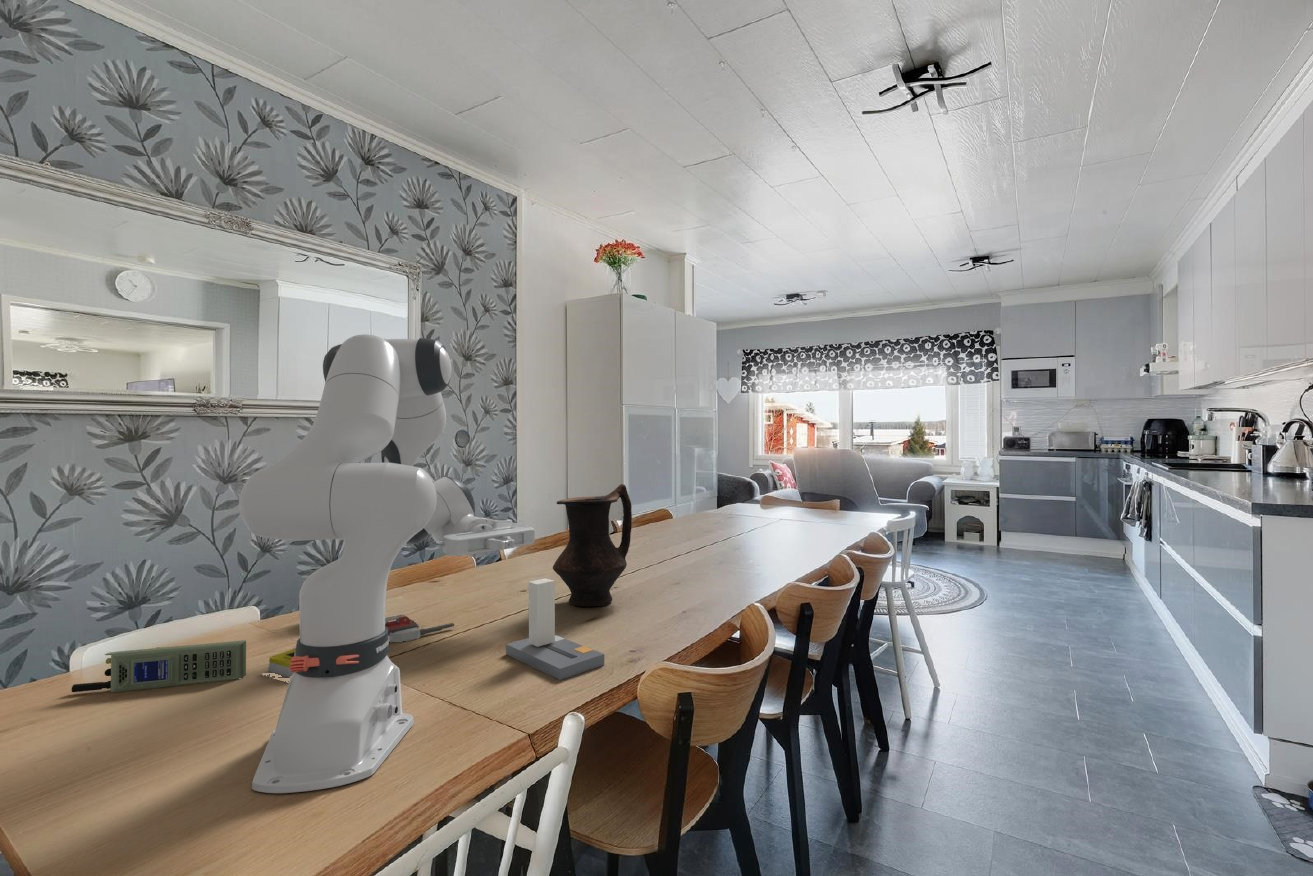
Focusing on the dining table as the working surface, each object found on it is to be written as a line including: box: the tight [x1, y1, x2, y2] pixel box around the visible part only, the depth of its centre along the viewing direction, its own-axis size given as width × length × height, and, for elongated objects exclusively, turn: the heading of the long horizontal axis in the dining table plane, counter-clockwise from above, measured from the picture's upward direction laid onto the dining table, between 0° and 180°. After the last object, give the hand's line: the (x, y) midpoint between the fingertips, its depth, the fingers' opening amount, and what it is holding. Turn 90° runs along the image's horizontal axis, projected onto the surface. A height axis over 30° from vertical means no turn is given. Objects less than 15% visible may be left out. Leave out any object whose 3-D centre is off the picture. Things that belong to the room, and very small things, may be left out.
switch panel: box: [505, 634, 605, 681], centre depth 116 cm, size 18×10×2 cm, turn 45°
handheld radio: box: [70, 639, 247, 694], centre depth 106 cm, size 7×3×25 cm
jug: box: [552, 483, 633, 607], centre depth 156 cm, size 21×18×30 cm
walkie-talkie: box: [385, 614, 455, 643], centre depth 131 cm, size 9×4×20 cm
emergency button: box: [262, 648, 296, 683], centre depth 114 cm, size 9×4×15 cm
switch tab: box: [528, 577, 556, 647], centre depth 119 cm, size 3×4×12 cm
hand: (508, 545), depth 128 cm, fingers closed
